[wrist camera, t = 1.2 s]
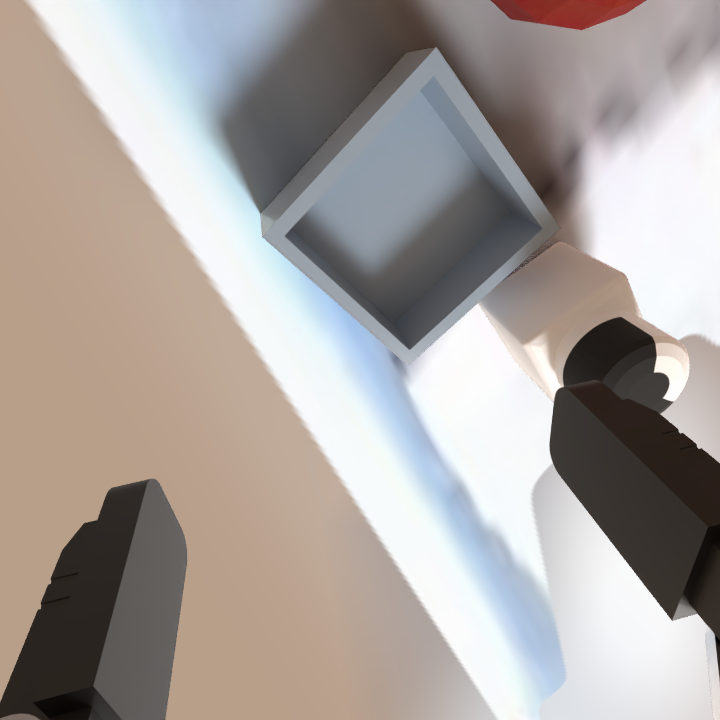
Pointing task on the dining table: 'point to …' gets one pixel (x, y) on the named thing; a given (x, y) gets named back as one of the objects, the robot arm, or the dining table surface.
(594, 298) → the medicine bottle
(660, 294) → the dining table surface
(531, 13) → the apple
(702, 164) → the dining table surface
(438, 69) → the grey open box
